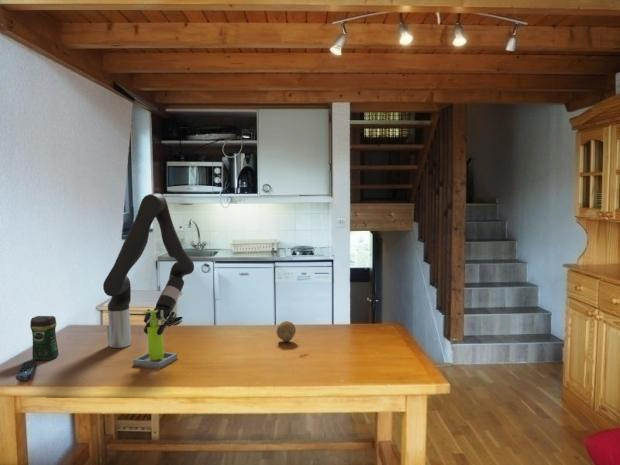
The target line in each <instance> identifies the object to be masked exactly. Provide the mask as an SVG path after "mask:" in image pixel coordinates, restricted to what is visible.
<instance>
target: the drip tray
mask: <svg viewBox="0 0 620 465" xmlns="http://www.w3.org/2000/svg"><path fill="white" fill-rule="evenodd" d="M176 360H178V353H175V352H168V351H164V357H163V358H161V359H157V360H151V359H149V351H148V352H146V353H144V354H142V355H140V356H138V357H136V358H134V359H132V364H133V366H135V367H142V368H147V369H156V370H161V369H163V368H164V367H166V366H168V365H171V364H172V363H173V362H175V361H176Z"/></svg>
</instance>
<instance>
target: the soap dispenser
mask: <svg viewBox="0 0 620 465" xmlns="http://www.w3.org/2000/svg"><path fill="white" fill-rule="evenodd" d="M146 313H152V318H151V319H150V326H149V327H147V332H148V334H147V343H148V344H147V345H148V346H147V347H148V352H149V359H151V360H157V359H161V358H163V357H164V352H165V350H164V338H163V333H162V334H161V335H158V334H157V331H158V329H159V326H160V325H161V324H159V322H160V321H159V320H158V318H157V317H156V313H157V310H154V309H153V310H149V311H147V310H146V311H144V312H143V314H144V315H146Z"/></svg>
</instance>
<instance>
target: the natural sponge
mask: <svg viewBox="0 0 620 465" xmlns="http://www.w3.org/2000/svg"><path fill="white" fill-rule="evenodd" d="M296 332H297V330H296V326H295V325H294V323H293V322H291V321H287V320H285V321H283V322H281V323H280V324H279V325H278V326H277V328H276V334H277V338H279V339H280V340H282V341H283V342H285V343H289V342H291V340H292V339H293V338H294V337H295V334H296Z"/></svg>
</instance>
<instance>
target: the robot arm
mask: <svg viewBox="0 0 620 465" xmlns="http://www.w3.org/2000/svg"><path fill="white" fill-rule="evenodd" d="M155 218H156V220H157V223H158V225H159V229H160V235H161V240H162V243H163V246H164V248H165V250H166V253H167V254H168V256H169V257H170V258H172V259H173V258H174V259H175V260H176V262H175V263H173V264H172V266H171V269H170V271H169V272H170V273H169V278H168V280H167V282H166V284H165V287H164V288H163V290H162V291H161V293H160V295H159V297H158V300H157V301H156V303H155V308H154V309H153V310H157V313H156V317H157V318H158V321H160V323H161V324H159V325H160V326H159V329H158V331H157V334H158V335H161V334H162V335H163V332H164V330H165V328H167V327H171V326H172V324H173V322H174V321H175V319H176V317H177V313H176V312H174V309H175V307H176V306H177V305H176V304H177V302H178V300H179V297H180V295H181V292H182V290H183V288H184V286H185V280H184V279H183V277H184V276H187V275H190V274H192V273H193V272H194V270H195V264H194V263H195V262H194V261H193V260H192V258H191V257H190V255H189V254H188V252H186V251H185V249H184V247H183V245H182V242H181V241H180V238H179V236H178V234H177V232H176V229H175V225H174V223H173V220H172V216H171V213H170V210H169V206H168V202H167V199H166V197H165V196H164V195H163V194H161V193H157V192H155V193H149V194H147V195H145V196H144V197H143V198H142V200H141V202H140V205H139V207H138V210H137V214H136V217H135V219H134V221H133V223H132V225H131V227H130V229H129V231H128V234H127V235H126V236H125V237H126V238H125V239H124V241H123V244H122V246H121V248H120V251H119V253H118V255H117V257H116V260H115V262H114V264H113V266H112V268H111V270H110V271H109V272H108V275H107V276H106V277H105V280H104V281H103V285H102V286H103V287H102V289H103V291H104V294H105V295H106V296H108V297H111V299H110V301H109V302H108V304H107V316H108V318H107V319H108V325H107V326H106V331H107V332H106V334H107V335H106V336H107V346H108V347H110V348H112V349H122V348H126V347H129V346H130V345H131V344H132V340H131V335H132V334H131V320H130V319H131V317H130V316H131V315H130V314H131V313H130V304H131V300H132V298H131V297H132V296H131V293H132V290H131V288H132V286H131V281H130V279H129V277H128V274H129V271H130V270H132V268H133V266H135V264H136V263H137V261H139V260H140V258H141V256H142V254H144V251H145V249H146V247H147V243H148V240H149V236H150V229H151V226H152V224H153V222H154V220H155ZM149 310H150V309H149V308H148V309H147V310H146V311H149ZM151 318H152V313H146V314H144V319H143V322H144V324H145V326H144V328H143V332H144V334H147V335H148V332H147V327H149V326H150V319H151Z"/></svg>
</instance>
